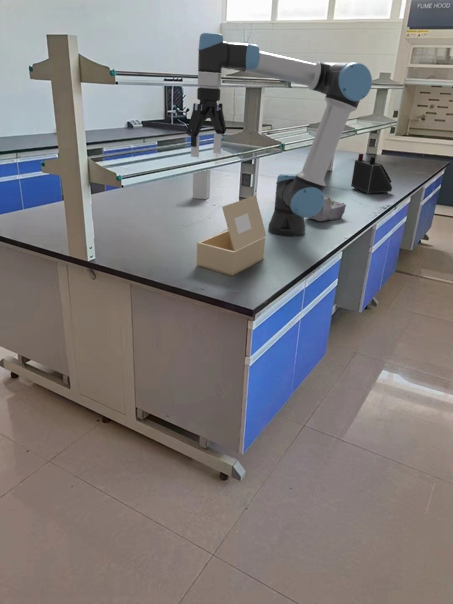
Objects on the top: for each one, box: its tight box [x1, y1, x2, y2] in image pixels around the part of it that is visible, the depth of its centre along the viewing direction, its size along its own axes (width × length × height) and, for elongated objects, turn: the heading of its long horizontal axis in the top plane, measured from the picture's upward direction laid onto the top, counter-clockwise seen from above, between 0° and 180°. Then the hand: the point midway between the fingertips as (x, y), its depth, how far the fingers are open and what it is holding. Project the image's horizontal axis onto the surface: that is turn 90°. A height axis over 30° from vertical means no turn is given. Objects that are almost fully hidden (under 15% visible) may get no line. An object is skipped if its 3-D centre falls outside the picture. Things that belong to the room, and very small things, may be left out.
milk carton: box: [192, 169, 211, 200], centre depth 242 cm, size 7×7×19 cm
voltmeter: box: [350, 153, 393, 195], centre depth 276 cm, size 16×16×20 cm
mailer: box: [196, 229, 266, 277], centre depth 163 cm, size 20×14×8 cm
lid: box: [221, 195, 267, 251], centre depth 156 cm, size 20×14×1 cm
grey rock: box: [306, 196, 347, 222], centre depth 220 cm, size 13×11×20 cm
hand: (206, 155), depth 167 cm, fingers open, 13 cm apart
